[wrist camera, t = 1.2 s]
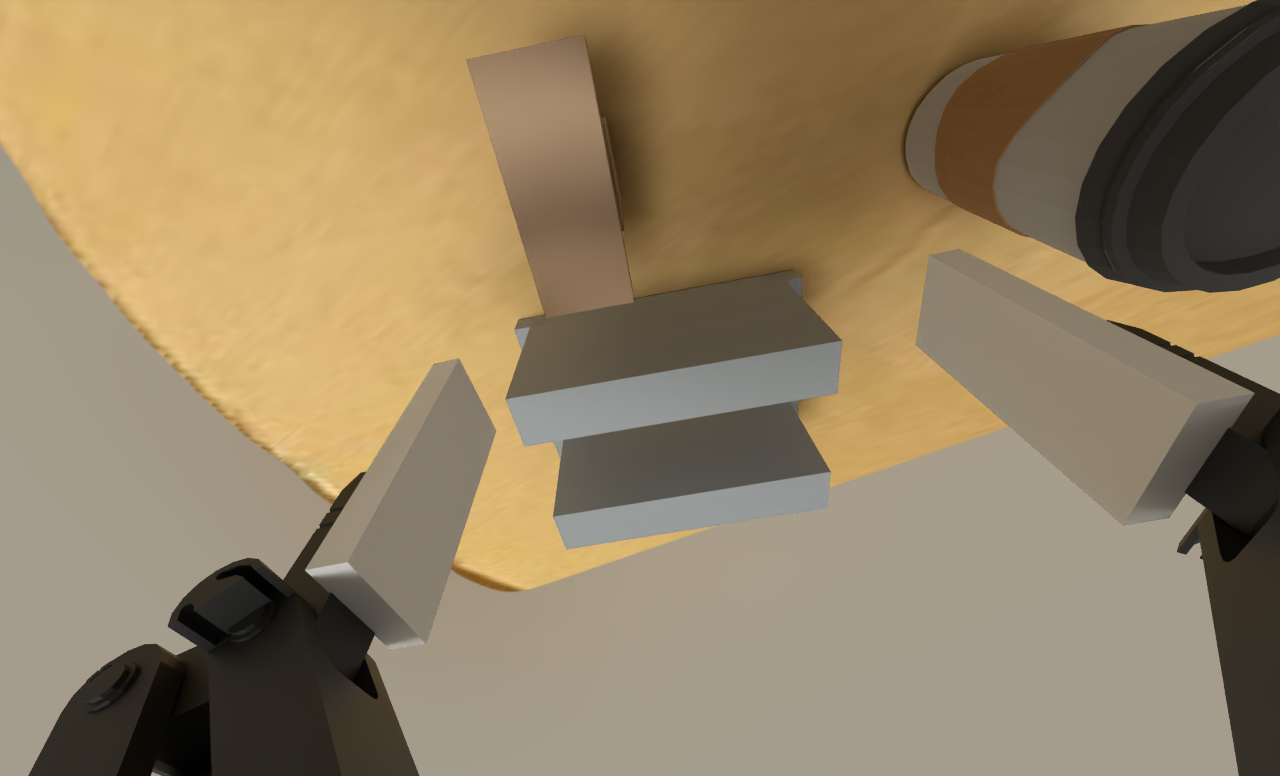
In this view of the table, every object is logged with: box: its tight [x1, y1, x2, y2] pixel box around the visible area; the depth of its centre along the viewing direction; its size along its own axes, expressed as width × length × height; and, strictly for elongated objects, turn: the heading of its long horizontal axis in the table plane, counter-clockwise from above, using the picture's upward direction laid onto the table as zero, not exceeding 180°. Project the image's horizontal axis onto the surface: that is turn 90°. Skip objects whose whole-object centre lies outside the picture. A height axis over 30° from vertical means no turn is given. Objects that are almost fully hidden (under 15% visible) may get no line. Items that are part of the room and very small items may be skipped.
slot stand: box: [506, 270, 842, 549], centre depth 28 cm, size 11×18×10 cm, turn 100°
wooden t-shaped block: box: [466, 35, 634, 318], centre depth 21 cm, size 9×4×10 cm, turn 10°
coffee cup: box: [905, 0, 1280, 293], centre depth 19 cm, size 8×8×15 cm
